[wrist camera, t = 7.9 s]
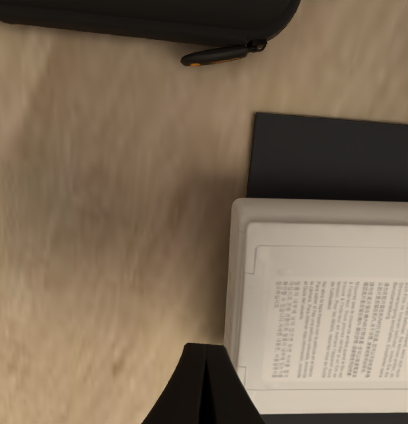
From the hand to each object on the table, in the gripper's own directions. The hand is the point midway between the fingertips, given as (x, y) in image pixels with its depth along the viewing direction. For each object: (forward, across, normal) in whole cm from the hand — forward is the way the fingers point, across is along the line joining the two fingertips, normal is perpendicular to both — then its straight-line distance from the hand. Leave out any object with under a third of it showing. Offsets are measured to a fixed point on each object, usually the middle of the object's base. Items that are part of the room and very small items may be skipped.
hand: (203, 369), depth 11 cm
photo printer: (+4, -1, 0) cm, 4 cm away
